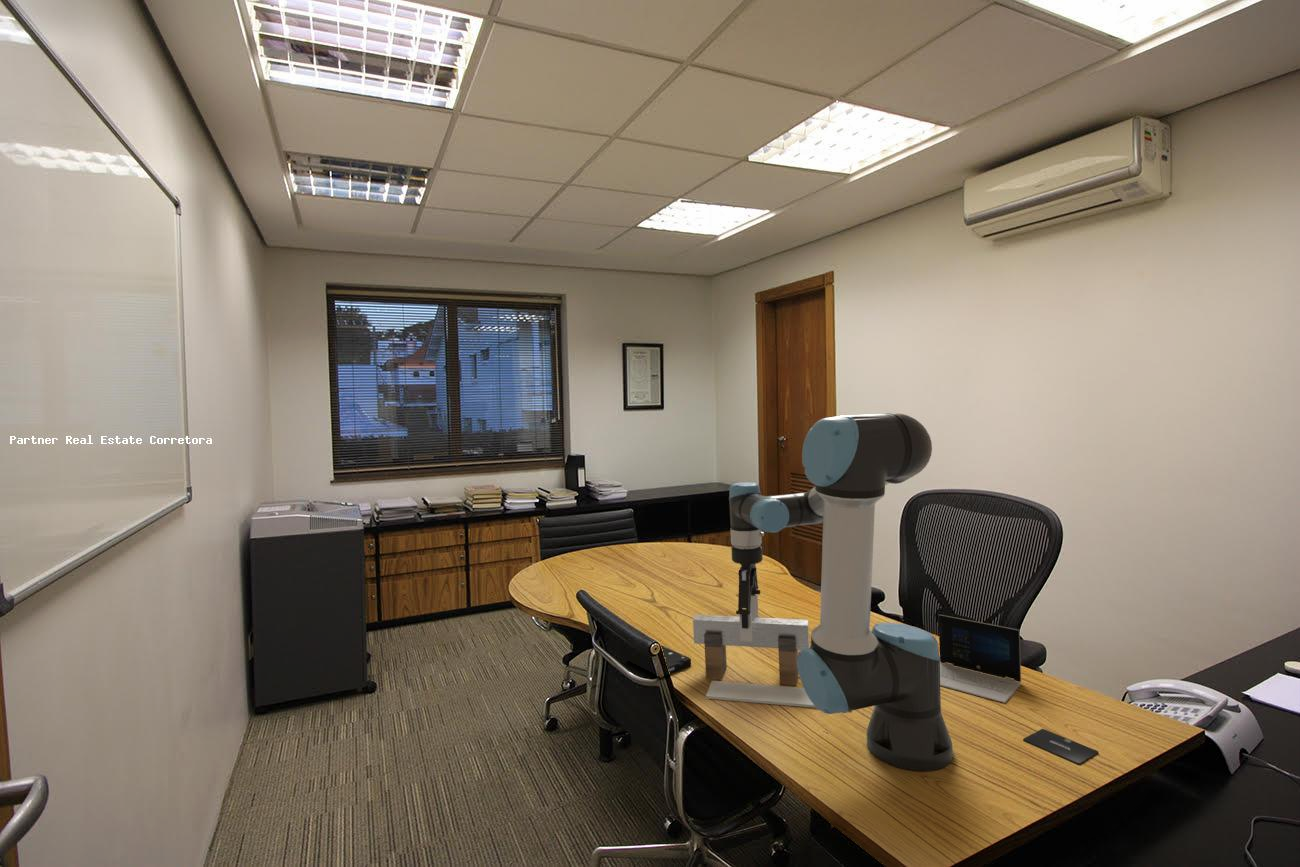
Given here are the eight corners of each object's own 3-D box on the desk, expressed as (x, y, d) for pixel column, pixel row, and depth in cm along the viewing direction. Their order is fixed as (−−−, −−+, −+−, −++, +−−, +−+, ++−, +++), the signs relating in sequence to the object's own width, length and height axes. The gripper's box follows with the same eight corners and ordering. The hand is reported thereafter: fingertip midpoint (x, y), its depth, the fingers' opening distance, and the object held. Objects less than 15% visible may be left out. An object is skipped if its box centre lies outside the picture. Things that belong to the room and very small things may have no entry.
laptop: (920, 682, 145) (918, 628, 144) (940, 665, 154) (938, 613, 153) (1005, 705, 132) (1003, 646, 132) (1021, 685, 141) (1020, 629, 141)
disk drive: (692, 668, 160) (656, 651, 171) (691, 658, 160) (656, 642, 171) (661, 681, 153) (626, 662, 165) (661, 670, 153) (626, 652, 165)
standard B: (722, 679, 151) (720, 635, 150) (706, 678, 152) (704, 634, 152) (726, 667, 158) (724, 625, 157) (711, 666, 159) (709, 624, 158)
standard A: (797, 685, 146) (795, 639, 145) (779, 683, 147) (777, 638, 146) (798, 672, 153) (796, 628, 152) (782, 671, 154) (780, 628, 153)
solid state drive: (1042, 731, 121) (1042, 728, 121) (1099, 755, 113) (1099, 751, 113) (1022, 742, 118) (1022, 738, 118) (1079, 767, 109) (1079, 763, 109)
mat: (851, 711, 132) (851, 708, 132) (705, 698, 141) (705, 695, 141) (850, 694, 140) (850, 691, 140) (712, 683, 149) (712, 680, 149)
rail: (808, 650, 146) (807, 625, 146) (694, 643, 154) (692, 619, 154) (809, 644, 150) (808, 619, 150) (697, 637, 158) (696, 614, 158)
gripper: (756, 558, 138) (759, 651, 139) (766, 534, 162) (769, 613, 163) (723, 557, 140) (726, 648, 141) (738, 534, 164) (741, 611, 165)
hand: (749, 630), depth 152 cm, fingers open, 13 cm apart
